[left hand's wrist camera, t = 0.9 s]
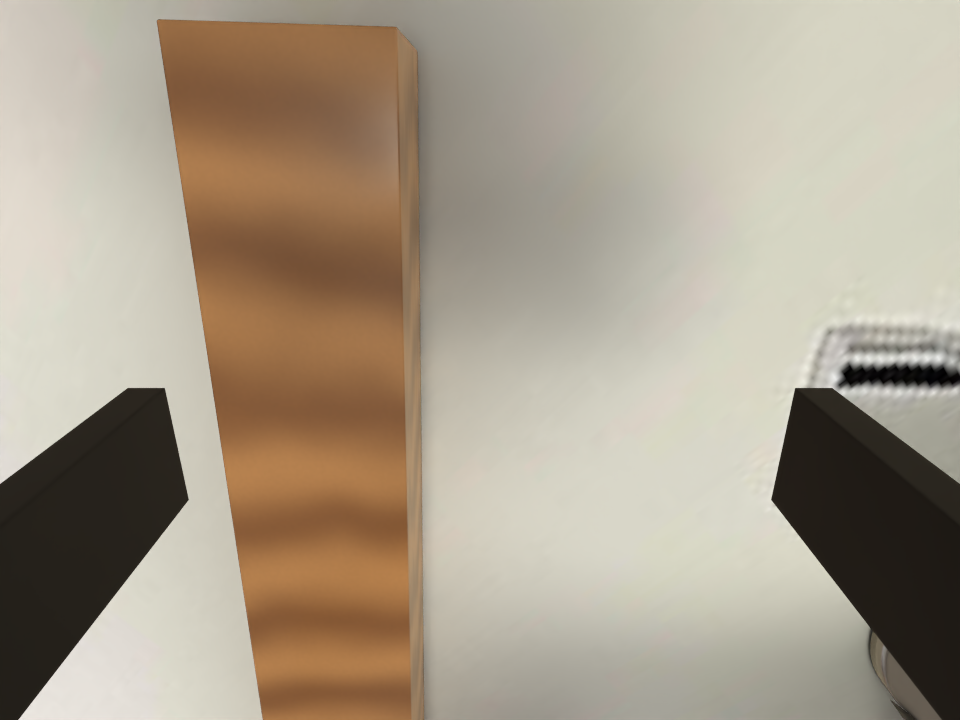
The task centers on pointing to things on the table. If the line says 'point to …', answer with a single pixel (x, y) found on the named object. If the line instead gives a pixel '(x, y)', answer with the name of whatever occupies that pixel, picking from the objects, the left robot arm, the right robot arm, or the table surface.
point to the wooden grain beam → (312, 344)
